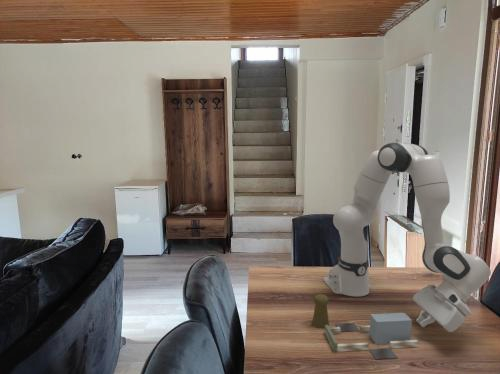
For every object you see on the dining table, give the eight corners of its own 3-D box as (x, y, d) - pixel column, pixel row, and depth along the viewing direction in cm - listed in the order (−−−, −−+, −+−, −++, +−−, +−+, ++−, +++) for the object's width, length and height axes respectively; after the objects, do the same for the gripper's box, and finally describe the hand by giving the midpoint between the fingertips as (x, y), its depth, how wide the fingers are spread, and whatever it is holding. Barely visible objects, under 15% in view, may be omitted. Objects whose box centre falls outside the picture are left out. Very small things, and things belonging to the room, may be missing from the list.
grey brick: (403, 334, 126) (404, 312, 125) (410, 342, 121) (411, 320, 120) (369, 335, 125) (370, 314, 124) (375, 344, 120) (376, 321, 119)
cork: (310, 320, 135) (311, 292, 134) (326, 319, 136) (327, 291, 134) (314, 328, 129) (315, 300, 128) (331, 327, 130) (332, 299, 128)
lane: (394, 321, 134) (395, 314, 133) (426, 356, 113) (427, 347, 113) (320, 325, 132) (320, 317, 131) (339, 361, 111) (339, 352, 110)
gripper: (426, 277, 132) (398, 303, 133) (463, 304, 112) (430, 334, 112) (436, 288, 133) (409, 314, 134) (475, 316, 113) (443, 347, 114)
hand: (419, 324), depth 123 cm, fingers closed
